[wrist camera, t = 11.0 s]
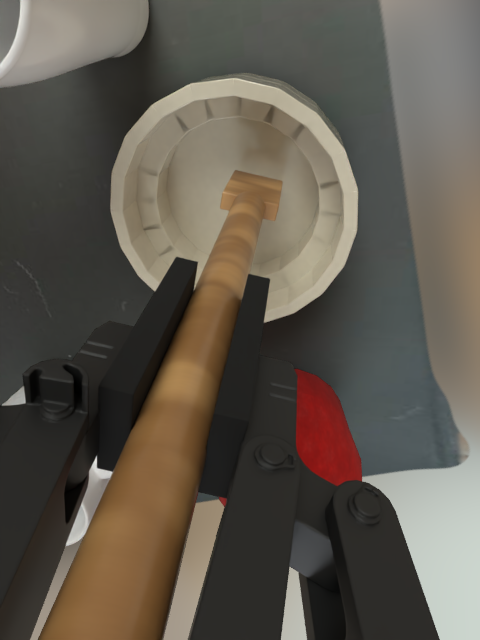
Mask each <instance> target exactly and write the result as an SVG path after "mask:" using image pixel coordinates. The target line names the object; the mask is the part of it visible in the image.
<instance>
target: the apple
mask: <svg viewBox="0 0 480 640" xmlns="http://www.w3.org/2000/svg"><path fill="white" fill-rule="evenodd" d="M294 370H295V372H296V374H297V375H298V380H297V402H296V403H297V421H296V447H297V452H298V454H299V456H300V458H301V460H302V461H303V463H304V464H305V465H306V466H307V467H308V468H309V469H310V470H311V471H312V472H314V473H315V474H317V475H318V476H320V477H321V478H323V479H325V480H327V481H329V482H331V483H332V484H334V485H336V486H338V485H340V484H342V483H343V482H345V481H351V480H359V481H362V470H361V458H360V456H359V453H358V451H357V448H356V446H355V443H354V440H353V438H352V435H351V433H350V430H349V427H348V424H347V421H346V418H345V415H344V412H343V409H342V406H341V403H340V400H339V398H338V397H337V395H336V394H335V392H334V391H333V389H332V387H331V386H330V385H328V384H327V383H326V382H324V381H323V380H322V379H320V378H319V377H318V376H316V375H313V374H310V373H308V372H305V371H302V370H299V369H294ZM226 499H227V498H222V497H219V500H220V501H221V503H222V504H223V505H224V507H225V504H226Z"/></svg>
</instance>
